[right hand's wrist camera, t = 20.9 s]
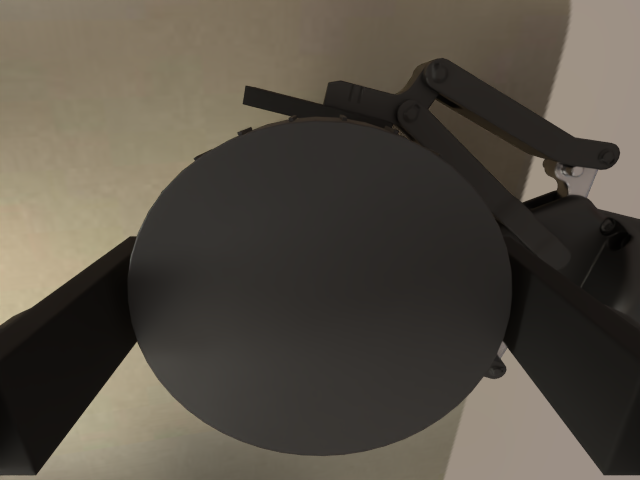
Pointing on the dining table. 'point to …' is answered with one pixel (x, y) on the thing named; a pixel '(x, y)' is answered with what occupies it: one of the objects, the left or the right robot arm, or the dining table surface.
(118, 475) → the dining table surface
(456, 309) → the lid
